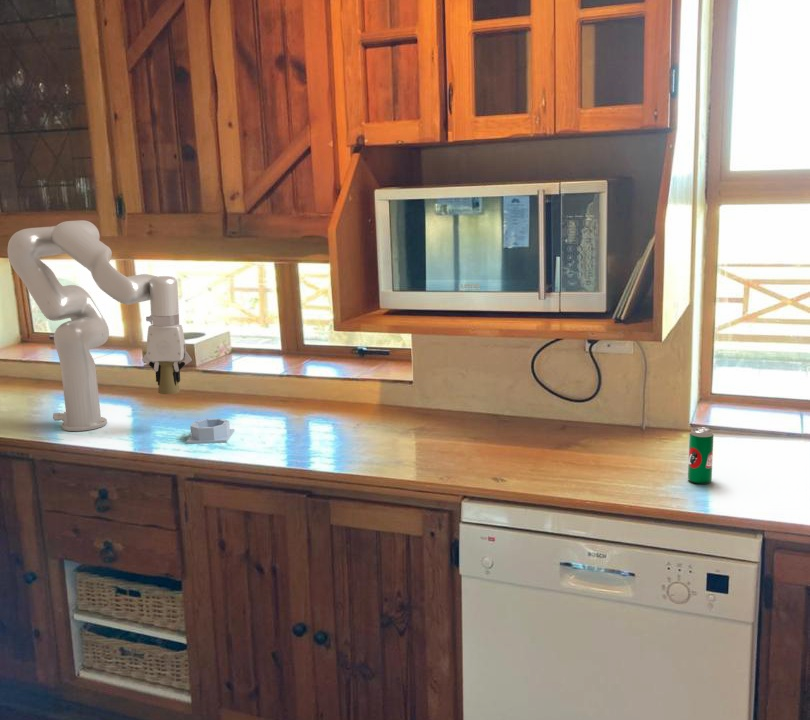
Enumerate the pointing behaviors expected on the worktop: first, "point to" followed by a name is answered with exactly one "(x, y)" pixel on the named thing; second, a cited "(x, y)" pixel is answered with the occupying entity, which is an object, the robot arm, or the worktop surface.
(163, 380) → the cork
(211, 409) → the worktop surface
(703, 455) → the soda can
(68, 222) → the robot arm
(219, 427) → the grey octagonal holder
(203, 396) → the worktop surface
